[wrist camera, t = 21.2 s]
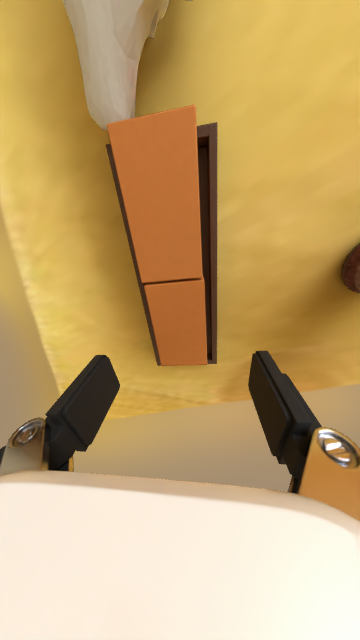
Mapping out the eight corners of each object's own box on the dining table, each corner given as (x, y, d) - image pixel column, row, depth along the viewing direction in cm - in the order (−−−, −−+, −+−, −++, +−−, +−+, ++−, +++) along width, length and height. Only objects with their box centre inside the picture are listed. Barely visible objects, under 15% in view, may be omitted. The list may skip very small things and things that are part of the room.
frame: (213, 138, 12) (217, 121, 11) (214, 354, 23) (216, 363, 21) (117, 156, 13) (105, 144, 11) (160, 356, 23) (157, 365, 22)
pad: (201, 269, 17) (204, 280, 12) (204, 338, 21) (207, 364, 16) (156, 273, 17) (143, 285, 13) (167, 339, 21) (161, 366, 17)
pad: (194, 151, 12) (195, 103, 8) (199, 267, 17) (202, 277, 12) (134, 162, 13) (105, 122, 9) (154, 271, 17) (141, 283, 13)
